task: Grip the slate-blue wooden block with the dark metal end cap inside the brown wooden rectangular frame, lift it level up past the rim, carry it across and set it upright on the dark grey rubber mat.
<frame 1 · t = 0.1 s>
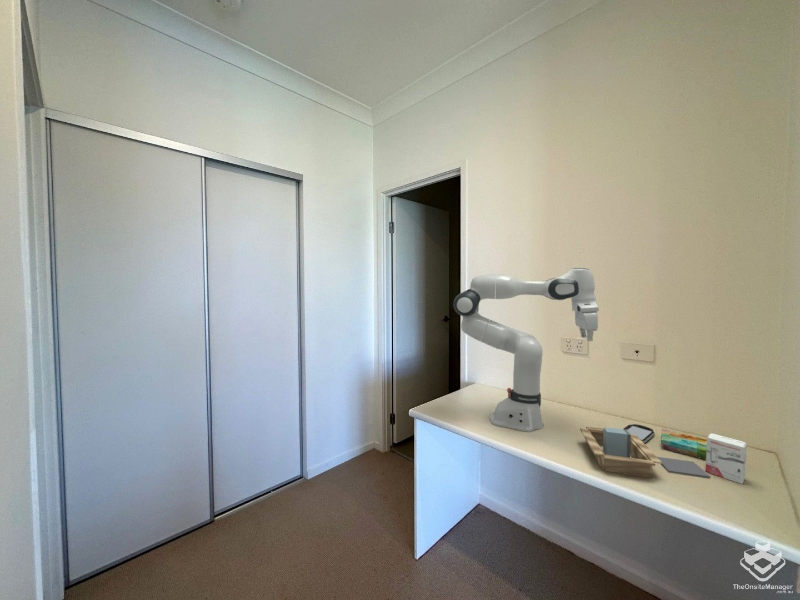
hand: (586, 339, 133), 39 cm above the table, tool pointing down, fingers open, 8 cm apart
mat: (681, 467, 106), on the table
brown wooden rectangular frame: (615, 458, 112), on the table
puzzle game: (696, 453, 116), on the table
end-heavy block: (616, 444, 112), in the brown wooden rectangular frame
ink box: (724, 475, 102), on the table
gaming console: (636, 437, 129), on the table
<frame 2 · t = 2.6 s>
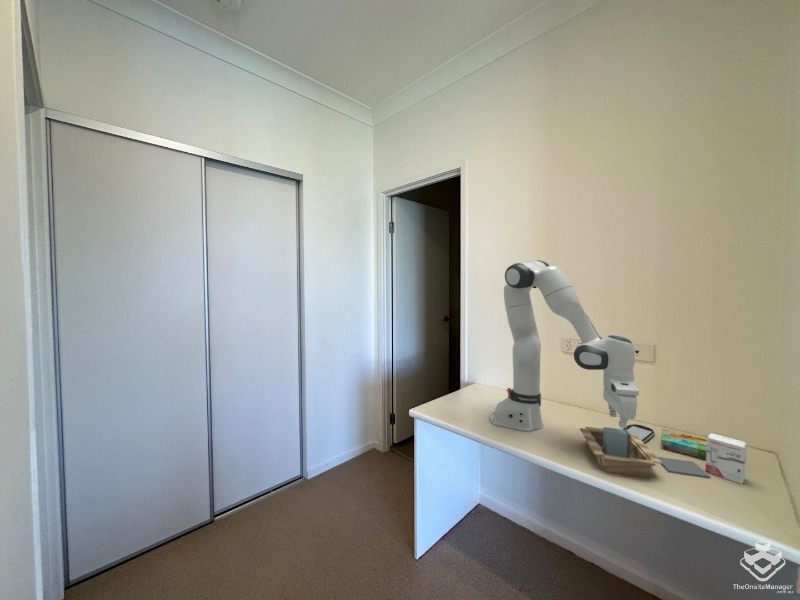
hand: (617, 421, 111), 13 cm above the table, tool pointing down, fingers open, 8 cm apart
nothing on the table moved.
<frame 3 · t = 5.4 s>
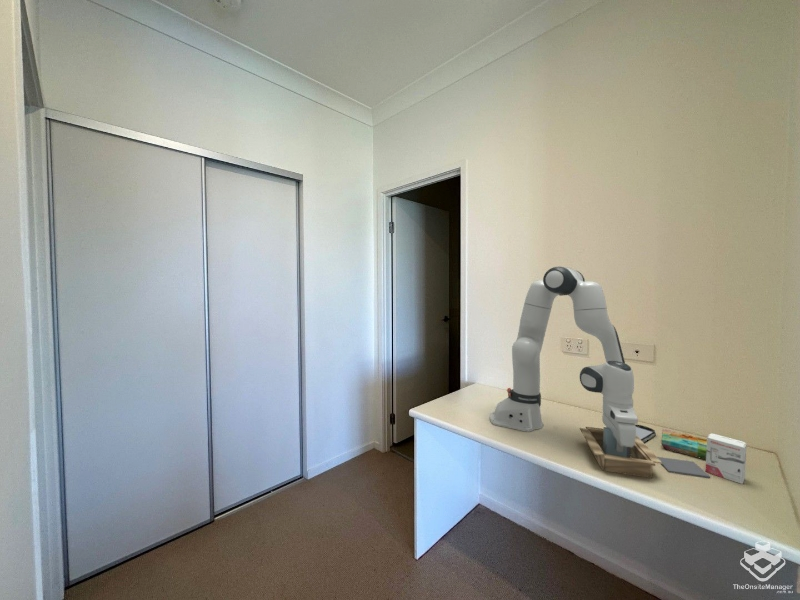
hand: (616, 447, 112), 4 cm above the table, tool pointing down, fingers closed on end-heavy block, 4 cm apart
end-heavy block: (616, 444, 112), in the brown wooden rectangular frame, touching gripper
everything else where it was.
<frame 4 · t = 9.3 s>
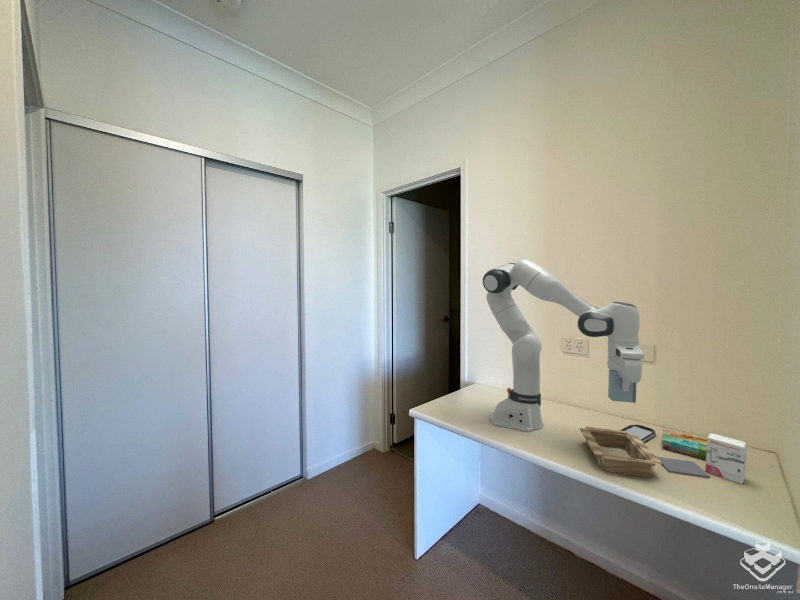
hand: (621, 388, 110), 25 cm above the table, tool pointing down, fingers closed on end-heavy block, 4 cm apart
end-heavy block: (622, 385, 110), point 26 cm above the table, touching gripper
everything else where it was.
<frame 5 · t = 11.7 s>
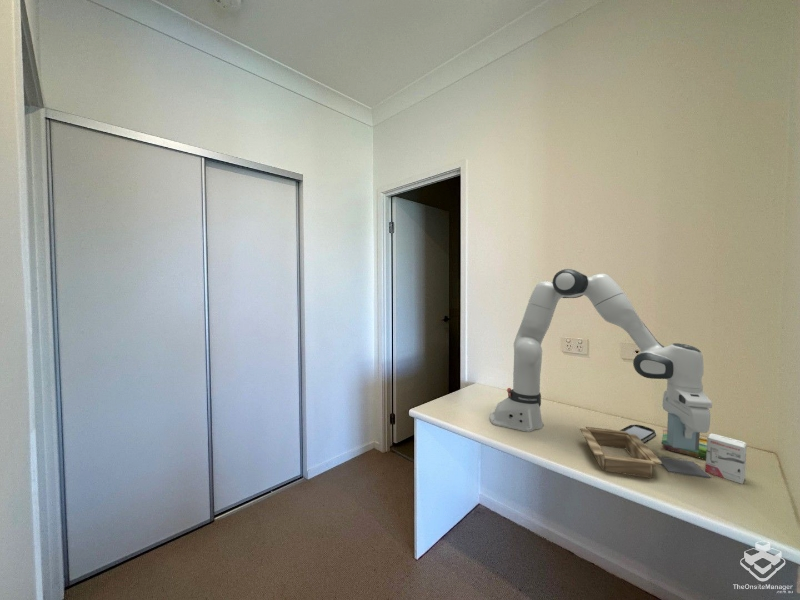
hand: (682, 433, 106), 12 cm above the table, tool pointing down, fingers closed on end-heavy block, 4 cm apart
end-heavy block: (683, 431, 106), point 12 cm above the table, touching gripper
everything else where it was.
when the fingers open (6 cm above the table, at t = 13.6 s): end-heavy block drops 2 cm, resting on mat.
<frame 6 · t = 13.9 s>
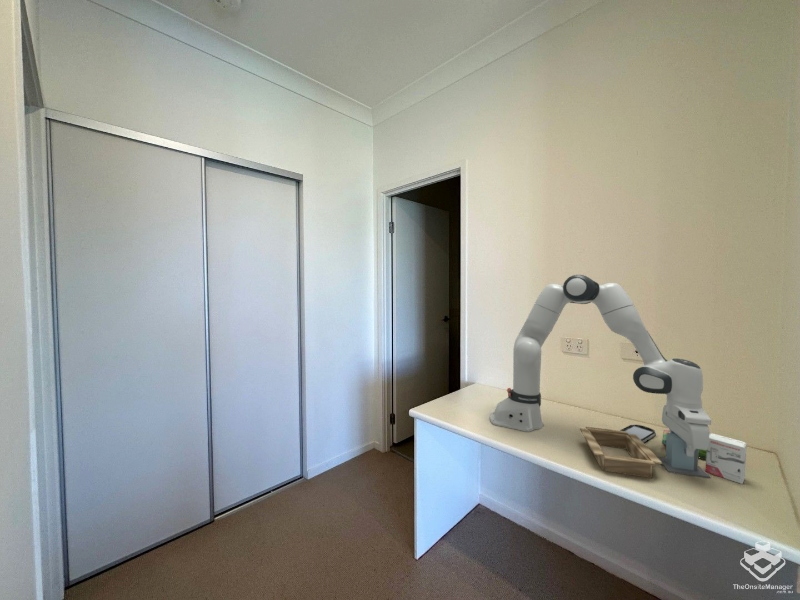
hand: (681, 449, 106), 6 cm above the table, tool pointing down, fingers open, 7 cm apart
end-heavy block: (681, 451, 106), on the mat, point 6 cm above the table
everything else where it was.
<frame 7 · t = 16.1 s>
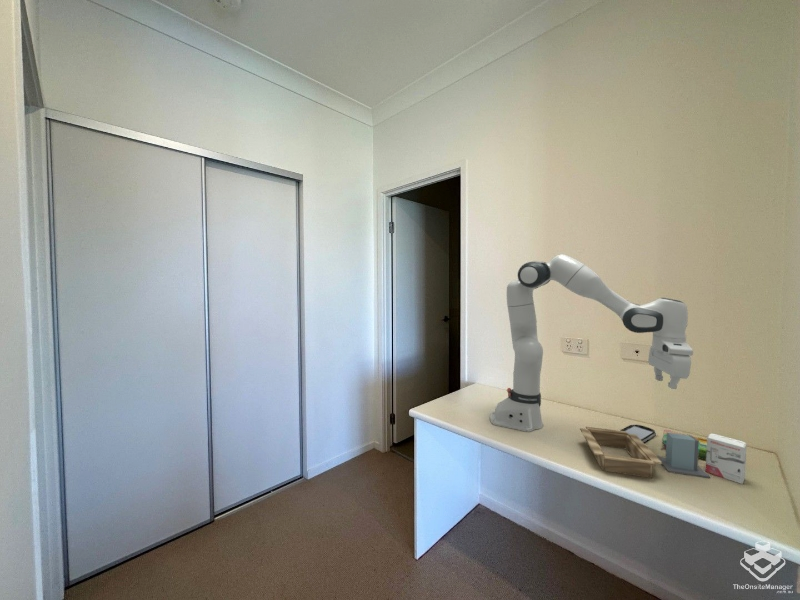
hand: (665, 384, 111), 27 cm above the table, tool pointing down, fingers open, 8 cm apart
nothing on the table moved.
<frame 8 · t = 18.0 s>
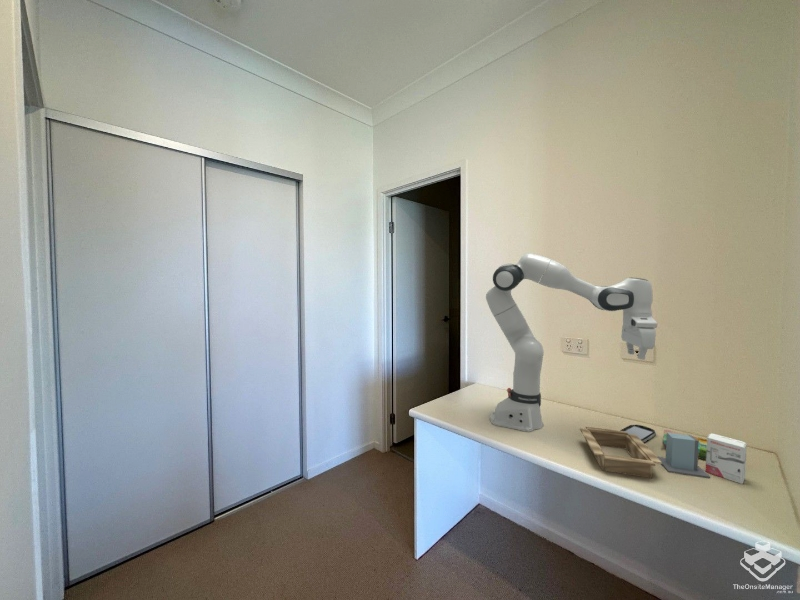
hand: (635, 356, 121), 34 cm above the table, tool pointing down, fingers open, 8 cm apart
nothing on the table moved.
at the end: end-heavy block inside the target area on the mat (0.1 cm from its centre), point 5.6 cm above the mat's base; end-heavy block tilted 0°; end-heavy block touching mat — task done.
